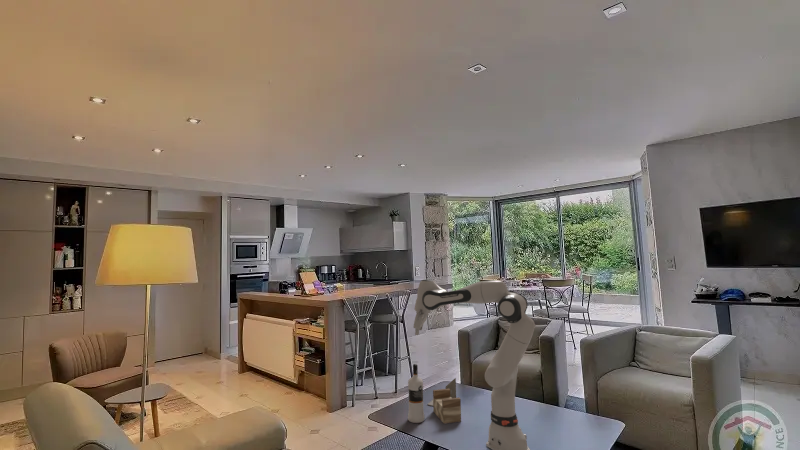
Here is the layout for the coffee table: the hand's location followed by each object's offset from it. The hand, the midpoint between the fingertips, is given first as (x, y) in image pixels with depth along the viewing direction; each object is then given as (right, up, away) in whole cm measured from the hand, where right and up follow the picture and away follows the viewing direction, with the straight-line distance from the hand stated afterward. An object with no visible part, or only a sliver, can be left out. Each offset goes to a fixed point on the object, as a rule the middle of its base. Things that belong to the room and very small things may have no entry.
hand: (418, 332), depth 211 cm
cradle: (+16, -48, +4) cm, 51 cm away
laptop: (+16, -51, +25) cm, 59 cm away
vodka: (-1, -49, -1) cm, 49 cm away
